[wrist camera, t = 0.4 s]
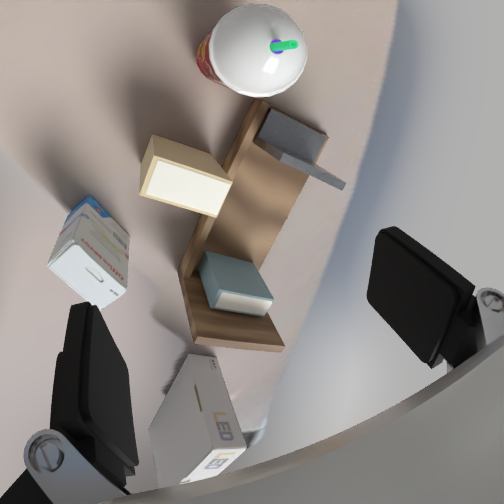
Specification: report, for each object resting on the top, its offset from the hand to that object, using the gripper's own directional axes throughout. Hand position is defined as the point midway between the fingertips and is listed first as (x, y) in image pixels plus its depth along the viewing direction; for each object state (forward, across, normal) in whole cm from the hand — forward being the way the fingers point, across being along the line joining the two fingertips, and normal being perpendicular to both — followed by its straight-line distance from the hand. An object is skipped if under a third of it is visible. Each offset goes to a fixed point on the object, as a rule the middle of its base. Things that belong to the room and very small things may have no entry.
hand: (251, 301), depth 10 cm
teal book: (+32, -5, +20) cm, 38 cm away
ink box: (+33, +12, +10) cm, 36 cm away
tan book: (+32, -1, +3) cm, 32 cm away
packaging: (+34, +10, +53) cm, 63 cm away
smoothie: (+32, -8, -9) cm, 34 cm away
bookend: (+31, -15, +2) cm, 35 cm away
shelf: (+32, -10, +11) cm, 36 cm away
